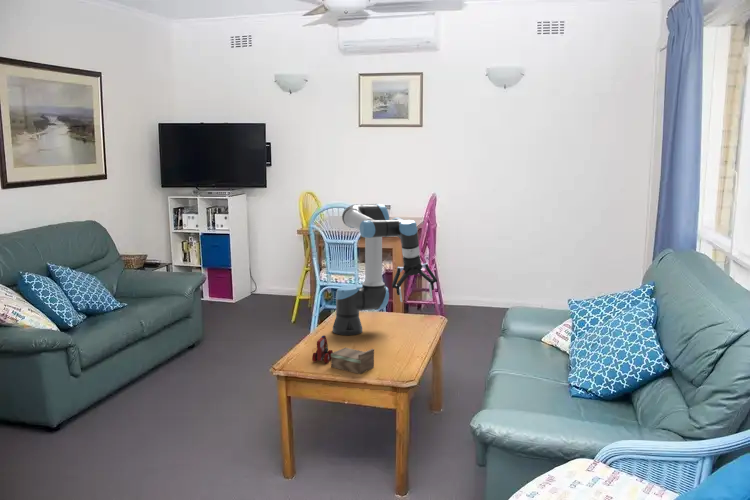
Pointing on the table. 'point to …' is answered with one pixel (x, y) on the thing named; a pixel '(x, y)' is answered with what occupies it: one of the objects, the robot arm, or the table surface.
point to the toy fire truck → (322, 351)
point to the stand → (353, 360)
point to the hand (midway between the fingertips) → (416, 298)
